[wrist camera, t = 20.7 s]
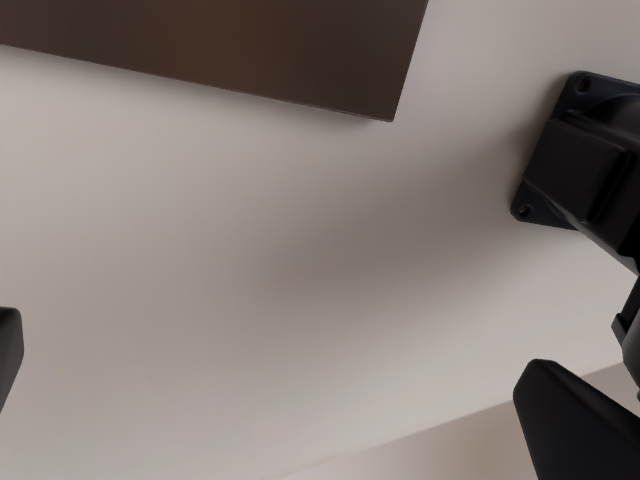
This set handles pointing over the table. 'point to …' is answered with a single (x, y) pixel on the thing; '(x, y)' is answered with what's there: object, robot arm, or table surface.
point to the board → (238, 44)
